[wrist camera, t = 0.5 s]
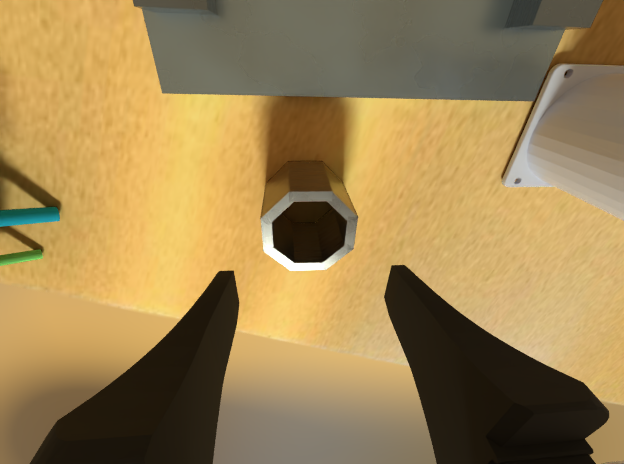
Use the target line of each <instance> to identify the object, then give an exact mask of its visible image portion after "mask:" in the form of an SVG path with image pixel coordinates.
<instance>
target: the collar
mask: <svg viewBox="0 0 624 464" xmlns="http://www.w3.org/2000/svg"><path fill="white" fill-rule="evenodd" d="M312 201H327V202H328V203H329V204H330V205H331V206H332V207H333V208H332V209H331V210H330V211H329V212H328V213H326V214H325V215H324V216H323V217H322V218H320V219H319V220H318V221H317V222H316V223H292V222H291V221H290V220H289V219H288V218H286V217H285V216H284V215H283V214H281V213H282V212H283V211H284V210H286V209H287V208H288V207H289V206H290V205H291V204H292V203H293V202H312ZM260 219H261V227H262V239H263V251H264V252H265V253H267V254H268V255H270V256H271V257H272V258H274V259H275V260H277V261H278V262H279V263H281V264H282V265H284V266H285V267H286V268H288V269H289V270H290V271H297V270H327V269H328V268H329V267H330V266H332V265H333V264H334V263H335V262H337V261H338V260H339V259H341V258H342V257H343V256H345V255H346V254H347V253H349V252H350V251H351V250H353V249H354V241H355V234H356V227H357V220H358V215H357V213H356V211H355V209H354V206H353V204H352V202H351V200H350V197H349V195H348V193H347V191H346V188H345V186H344V184H343V183H342V182H341V181H340V180H339V178H338V177H337V176H336V175H335V174H334V173H333V172H332V171H331V170H330V169H329V168H328V167H327V166H326V165H325V164H324V163H323V161H288V162H287V163H286V164H285V165H284V166H283V167H282V168H281V169H280V170H279V171H278V172H277V173H276V174H275V175H274V176H273V177H272V178H271V179H270V180H269V181H268V182H267V183H266V185H265V192H264V198H263V205H262V211H261V218H260Z"/></svg>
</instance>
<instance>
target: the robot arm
mask: <svg viewBox="0 0 624 464" xmlns="http://www.w3.org/2000/svg"><path fill="white" fill-rule="evenodd" d="M567 70H568V71H567ZM566 71H567V74H566V75H565V76H564V73H565V72H566ZM517 178H518V179H517ZM516 179H517V180H516ZM515 180H516V181H515ZM502 184H503V185H504V186H506V187H557V188H559V189H561V190H563V191H565V192H567V193H569V194H571V195H573V196H575V197H577V198H579V199H581V200H583V201H585V202H587V203H589V204H591V205H593V206H595V207H597V208H599V209H601V210H603V211H605V212H607V213H609V214H611V215H613V216H615V217H617V218H619V219H621V220H623V221H624V66H617V65H588V64H557V65H555V66H554V67H553V68H552V69H551V70H550V72H549V74H548V76H547V78H546V80H545V83H544V85H543V87H542V90H541V92H540V94H539V97H538V99H537V101H536V103H535V106H534V108H533V110H532V113H531V115H530V117H529V119H528V122H527V124H526V126H525V129H524V131H523V133H522V135H521V138H520V140H519V142H518V145H517V147H516V149H515V152H514V154H513V156H512V158H511V161H510V163H509V165H508V168H507V170H506V172H505V174H504V177H503V179H502ZM384 298H385V302H386V306H387V309H388V313H389V316H390V319H391V322H392V324H393V327H394V329H395V331H396V334H397V336H398V339H399V341H400V343H401V346H402V348H403V351H404V353H405V355H406V358H407V360H408V363H409V365H410V368H411V371H412V374H413V377H414V380H415V384H416V387H417V390H418V393H419V397H420V400H421V404H422V407H423V410H424V414H425V418H426V422H427V426H428V429H429V433H430V437H431V441H432V445H433V449H434V454H435V458H436V462H437V464H596V463H595V462H594V461H593V460H592V458H591V457H590V454H592V453H593V449H592V448H591V447H590V445H589V444H588V443H587V441H586V440H585V438H586V437H588V436H589V435H591V434H592V433H593V432H595V431H596V430H597V429H599V428H600V427H601V426H602V425H604V424H605V423H606V422H607V420H608V418H609V411H608V409H607V408H606V407H605V406H604V405H603V404H602V403H601V402H600V401H599V399H598V398H597V397H596V396H595V395H594V394H593V393H592V392H591V390H590V389H589V388H588V387H587V386H586V385H585V384H584V383H583V382H581V381H579V380H577V379H574V378H572V377H570V376H568V375H566V374H564V373H562V372H559V371H557V370H555V369H553V368H551V367H549V366H547V365H545V364H543V363H541V362H539V361H537V360H535V359H533V358H531V357H529V356H528V355H526V354H524V353H522V352H520V351H518V350H517V349H515V348H513V347H511V346H510V345H508V344H506V343H505V342H503V341H501V340H500V339H498V338H496V337H495V336H493V335H491V334H490V333H488V332H487V331H485V330H484V329H482V328H481V327H479V326H478V325H476V324H475V323H473V322H472V321H471V320H469V319H468V318H466V317H465V316H464V315H462V314H461V313H460V312H458V311H457V310H456V309H455V308H453V307H452V306H451V305H449V304H448V303H447V302H446V301H445V300H443V299H442V298H441V297H440V296H439V295H437V294H436V293H435V292H434V291H433V290H432V289H431V288H429V287H428V286H427V285H426V284H425V283H424V282H423V281H422V280H421V279H419V278H418V277H417V276H416V275H415V274H414V273H413V272H412V271H411V270H410V269H408V268H407V267H406V266H405V265H392V266H391V270H390V275H389V279H388V283H387V287H386V291H385V296H384ZM238 310H239V298H238V293H237V287H236V281H235V276H234V271H219V272H218V273H217V274H216V276H215V277H214V279H213V280H212V282H211V283H210V284H209V286H208V287H207V288H206V290H205V291H204V292H203V294H202V295H201V296H200V297H199V299H198V300H197V301H196V302H195V304H194V305H193V306H192V307H191V309H190V310H189V311H188V312H187V313H186V314H185V316H184V317H183V318H182V319H181V320H180V321H179V322H178V323H177V325H176V326H175V327H174V328H173V329H172V330H171V331H170V332H169V333H168V334H167V335H166V336H165V337H164V338H163V339H162V340H161V341H160V342H159V343H158V344H157V345H156V346H155V347H154V348H152V349H151V350H150V351H149V352H148V353H147V354H146V355H145V356H144V357H143V358H141V359H140V360H139V361H138V362H137V363H136V364H134V365H133V366H132V367H131V368H130V369H128V370H127V371H126V372H125V373H123V374H122V375H121V376H120V377H118V378H117V379H116V380H114V381H113V382H112V383H111V384H109V385H108V386H107V387H105V388H104V389H103V390H101V391H100V392H98V393H97V394H96V395H94V396H93V397H92V398H90V399H89V400H87V401H86V402H84V403H83V404H81V405H80V406H79V407H77V408H75V409H74V410H73V411H71V412H70V413H68V414H67V415H65V416H64V417H62V418H61V419H59V420H58V421H57V422H56V424H55V425H54V426H53V428H52V429H51V431H50V432H49V434H48V435H47V436H46V438H45V440H44V441H43V443H42V445H41V446H40V448H39V450H38V451H37V453H36V454H35V456H34V458H33V459H32V461H31V462H30V464H213V456H214V446H215V438H216V429H217V422H218V415H219V407H220V400H221V394H222V387H223V381H224V376H225V371H226V367H227V363H228V359H229V355H230V351H231V346H232V342H233V338H234V334H235V330H236V325H237V318H238ZM603 464H624V461H616V462H608V463H603Z"/></svg>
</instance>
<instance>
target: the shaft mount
mask: <svg viewBox="0 0 624 464" xmlns="http://www.w3.org/2000/svg"><path fill="white" fill-rule="evenodd" d="M602 2H603V0H133V3H134V6H135V7H138V8H141V9H142V11H143V15H144V19H145V23H146V28H147V32H148V36H149V40H150V44H151V48H152V52H153V56H154V61H155V65H156V69H157V73H158V77H159V81H160V85H161V89H162V93H173V94H219V95H265V96H311V97H357V98H403V99H450V100H496V101H534V100H535V98H536V96H537V93H538V91H539V89H540V86H541V84H542V82H543V79H544V77H545V75H546V72H547V70H548V68H549V65H550V63H551V61H552V59H553V56H554V54H555V52H556V49H557V47H558V45H559V42H560V40H561V38H562V35H563V33H564V31H565V30H569V29H581V28H590V27H591V25H592V23H593V21H594V19H595V16H596V14H597V12H598V10H599V8H600V6H601V4H602Z"/></svg>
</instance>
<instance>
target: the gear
mask: <svg viewBox="0 0 624 464" xmlns="http://www.w3.org/2000/svg"><path fill="white" fill-rule="evenodd" d="M59 220H60V215H59V211H58V209H57V207H44V208H28V209H12V210H0V227H1V226H12V225H22V224H33V223H43V222H54V221H59ZM42 258H43V256H42V252H41V250H40V249H39V250H32V251H25V252H19V253H12V254H6V255H0V266H2V265H8V264H13V263H19V262H25V261H31V260H37V259H42Z"/></svg>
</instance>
